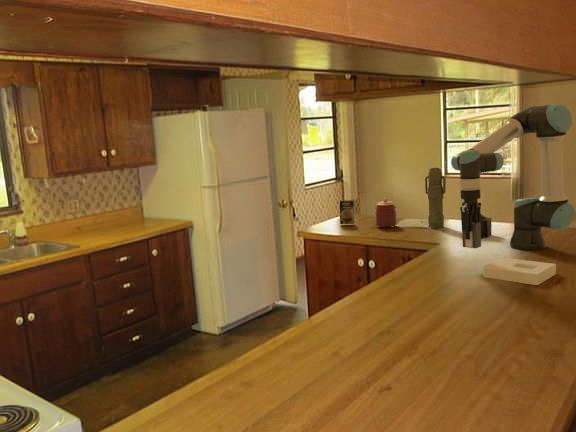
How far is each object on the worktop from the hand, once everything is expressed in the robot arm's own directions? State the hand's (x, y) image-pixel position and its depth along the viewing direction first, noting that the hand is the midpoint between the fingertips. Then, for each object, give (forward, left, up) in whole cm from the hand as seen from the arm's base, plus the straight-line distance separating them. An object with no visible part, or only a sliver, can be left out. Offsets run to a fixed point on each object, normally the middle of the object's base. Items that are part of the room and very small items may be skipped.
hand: (471, 245), depth 216 cm
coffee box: (-60, -114, -10) cm, 129 cm away
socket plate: (+1, +20, -9) cm, 22 cm away
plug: (0, 0, 0) cm, 0 cm away
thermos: (-78, -61, -10) cm, 99 cm away
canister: (-67, -89, -10) cm, 112 cm away
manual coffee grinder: (-64, -30, -10) cm, 71 cm away
